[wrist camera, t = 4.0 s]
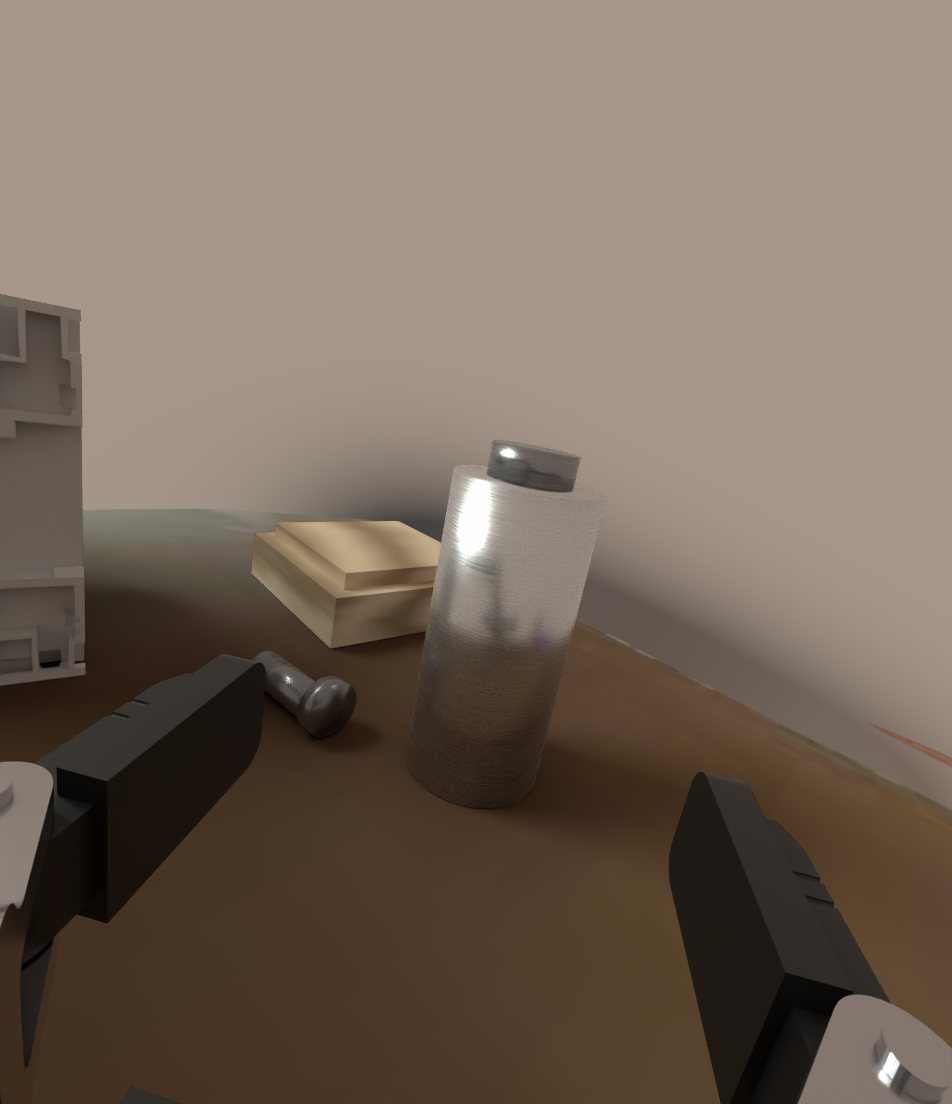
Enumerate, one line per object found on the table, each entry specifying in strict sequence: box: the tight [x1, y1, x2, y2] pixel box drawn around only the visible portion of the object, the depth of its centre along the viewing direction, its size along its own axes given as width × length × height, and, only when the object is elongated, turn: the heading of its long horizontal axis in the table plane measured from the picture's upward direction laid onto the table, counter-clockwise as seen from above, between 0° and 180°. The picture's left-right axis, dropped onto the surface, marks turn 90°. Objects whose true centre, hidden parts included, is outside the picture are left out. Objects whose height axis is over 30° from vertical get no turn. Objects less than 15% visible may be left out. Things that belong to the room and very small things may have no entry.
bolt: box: [252, 650, 356, 738], centre depth 24 cm, size 5×2×2 cm, turn 52°
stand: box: [252, 521, 441, 649], centre depth 38 cm, size 12×12×4 cm
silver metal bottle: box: [406, 440, 606, 809], centre depth 21 cm, size 6×6×13 cm
